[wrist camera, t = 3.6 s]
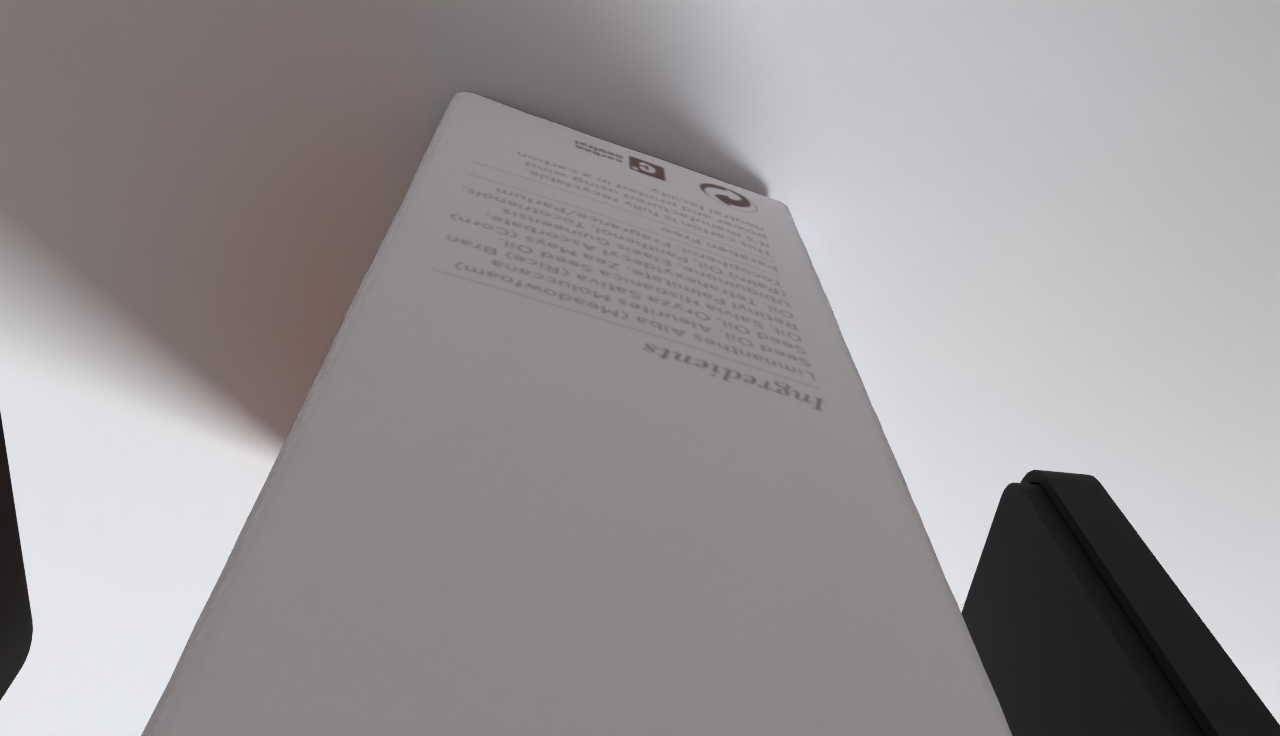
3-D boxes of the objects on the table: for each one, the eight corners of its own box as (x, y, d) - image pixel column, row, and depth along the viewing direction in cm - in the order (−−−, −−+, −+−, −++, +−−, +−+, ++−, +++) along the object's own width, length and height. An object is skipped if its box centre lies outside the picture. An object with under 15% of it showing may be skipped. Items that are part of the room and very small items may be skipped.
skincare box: (446, 74, 12) (-408, 1710, 2) (791, 195, 13) (1583, 1815, 3) (326, 498, 15) (-322, 2203, 4) (621, 578, 16) (675, 2177, 5)
